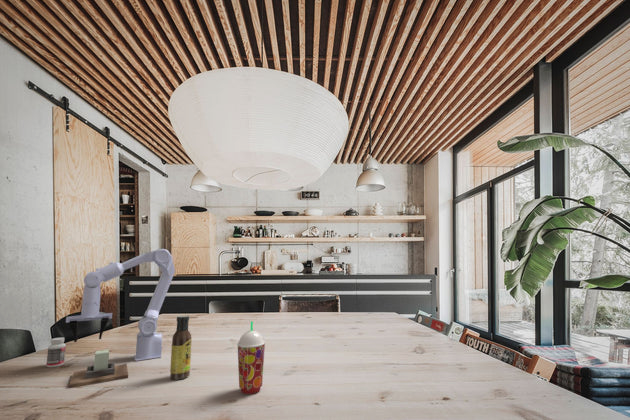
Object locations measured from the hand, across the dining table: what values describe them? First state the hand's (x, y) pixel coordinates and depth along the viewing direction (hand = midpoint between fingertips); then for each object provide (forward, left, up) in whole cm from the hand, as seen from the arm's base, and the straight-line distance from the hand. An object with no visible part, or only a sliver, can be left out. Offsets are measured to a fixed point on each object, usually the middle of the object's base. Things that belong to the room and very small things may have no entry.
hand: (88, 340), depth 124 cm
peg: (-5, +16, -8) cm, 19 cm away
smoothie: (-44, +56, -10) cm, 72 cm away
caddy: (-5, +16, -9) cm, 19 cm away
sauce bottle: (-28, +32, -10) cm, 44 cm away
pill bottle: (+10, -8, -10) cm, 16 cm away
